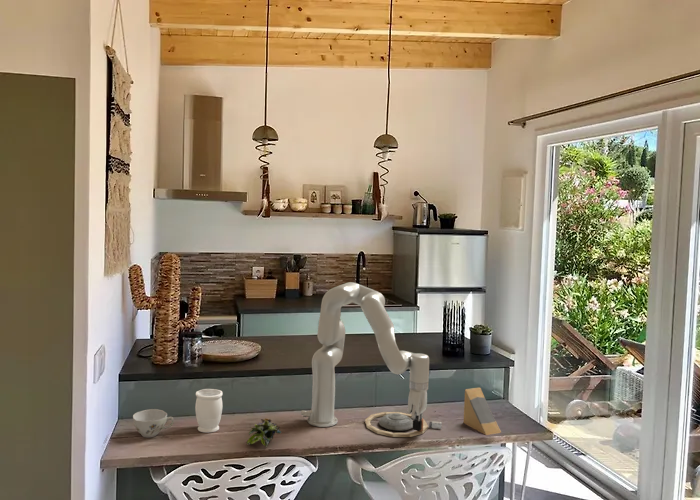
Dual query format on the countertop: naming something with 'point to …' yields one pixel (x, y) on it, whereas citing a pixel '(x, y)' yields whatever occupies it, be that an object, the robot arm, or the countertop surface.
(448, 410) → the countertop surface
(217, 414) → the jar
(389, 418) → the flying saucer
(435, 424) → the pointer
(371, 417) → the turntable ring
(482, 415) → the sandwich container
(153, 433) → the teacup
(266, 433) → the green leafy cluster
